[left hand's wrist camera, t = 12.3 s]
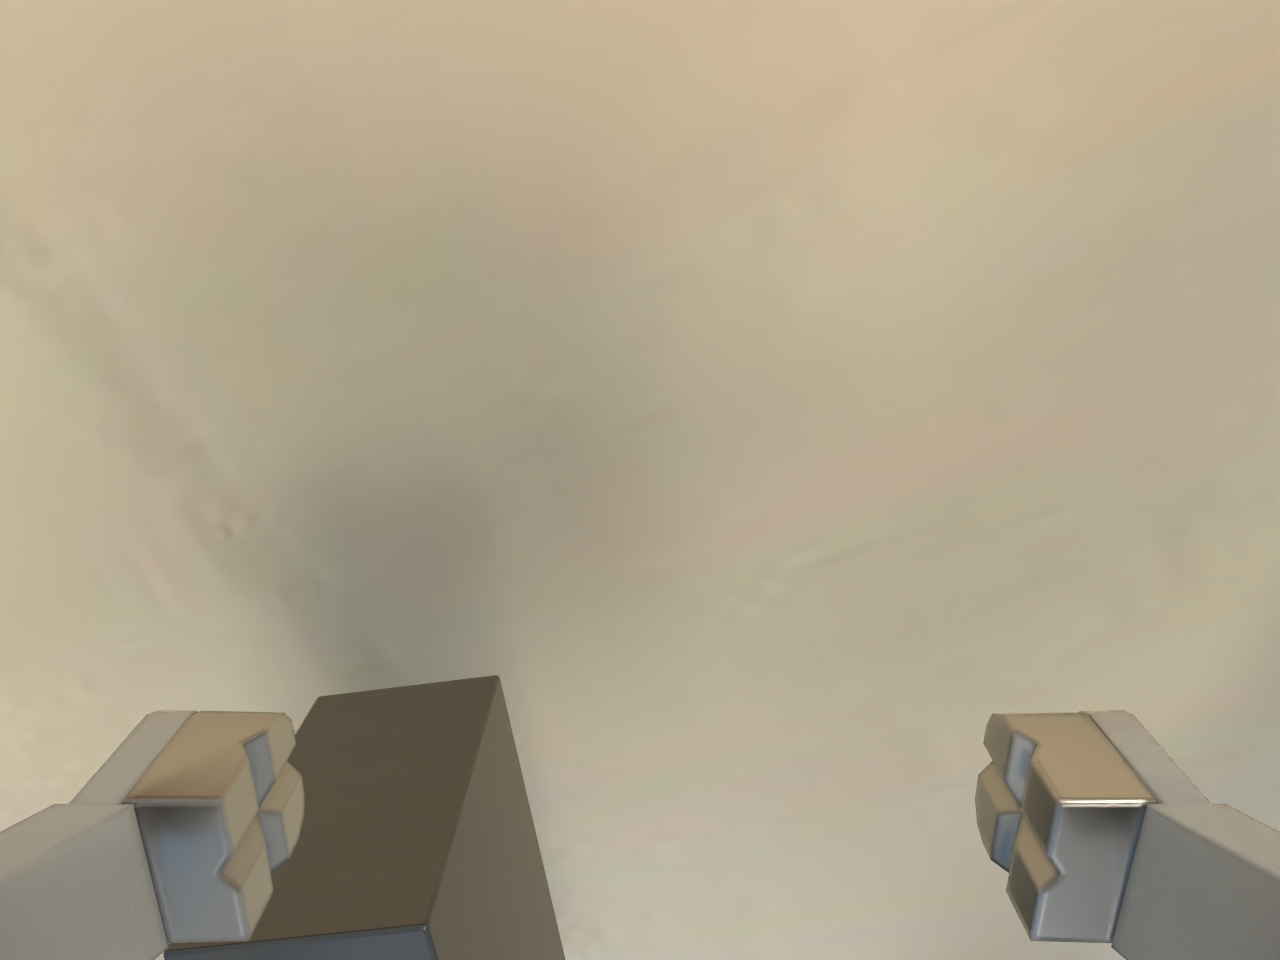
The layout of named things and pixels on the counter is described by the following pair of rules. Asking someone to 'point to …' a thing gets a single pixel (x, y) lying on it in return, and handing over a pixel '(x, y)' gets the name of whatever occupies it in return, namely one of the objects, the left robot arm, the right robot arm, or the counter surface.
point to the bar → (406, 837)
